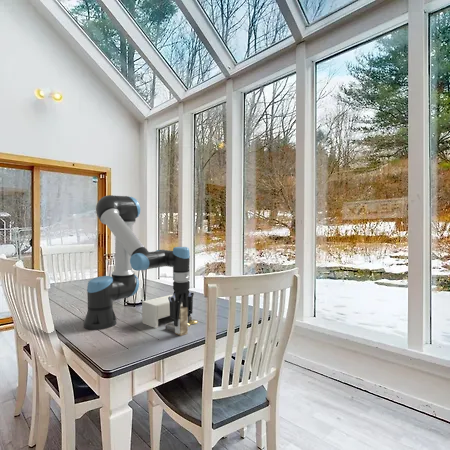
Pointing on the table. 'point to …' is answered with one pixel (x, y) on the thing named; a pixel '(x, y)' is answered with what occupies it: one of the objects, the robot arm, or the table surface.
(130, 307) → the table surface
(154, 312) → the cabinet
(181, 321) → the hook
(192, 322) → the gold domed disc
